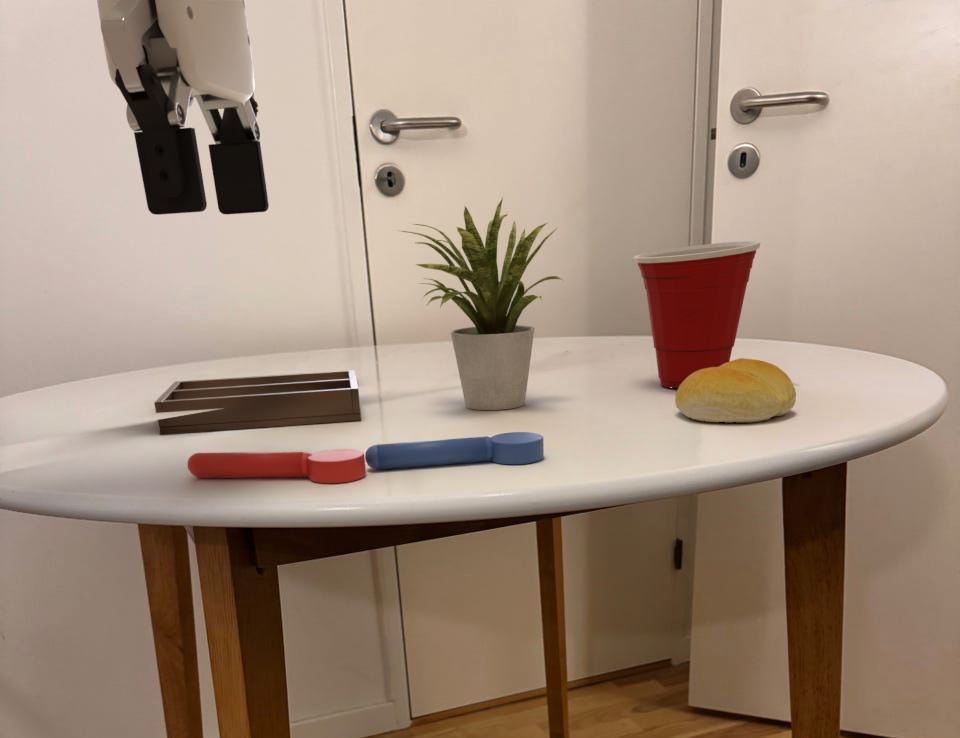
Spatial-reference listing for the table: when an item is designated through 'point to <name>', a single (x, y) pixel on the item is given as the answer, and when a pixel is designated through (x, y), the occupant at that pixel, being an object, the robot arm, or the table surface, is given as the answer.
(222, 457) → the red spoon
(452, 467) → the table surface
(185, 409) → the organiser
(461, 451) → the blue spoon
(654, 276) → the plastic cup
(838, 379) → the table surface
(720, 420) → the bread roll
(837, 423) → the table surface
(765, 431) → the table surface
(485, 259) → the house plant
